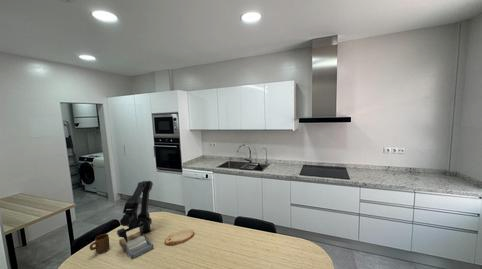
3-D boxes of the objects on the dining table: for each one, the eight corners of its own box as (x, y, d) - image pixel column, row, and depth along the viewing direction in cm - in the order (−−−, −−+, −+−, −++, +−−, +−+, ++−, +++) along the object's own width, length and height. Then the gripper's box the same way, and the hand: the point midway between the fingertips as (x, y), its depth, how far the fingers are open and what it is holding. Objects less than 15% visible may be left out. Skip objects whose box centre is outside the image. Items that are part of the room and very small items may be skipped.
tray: (146, 241, 139) (146, 237, 139) (153, 248, 131) (153, 244, 131) (125, 251, 129) (125, 247, 129) (131, 259, 121) (131, 255, 121)
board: (140, 235, 147) (140, 231, 147) (146, 241, 139) (146, 237, 139) (119, 243, 137) (119, 239, 137) (125, 251, 129) (124, 247, 129)
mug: (95, 259, 122) (94, 245, 121) (86, 257, 124) (85, 243, 123) (112, 247, 133) (111, 234, 133) (103, 245, 135) (102, 232, 135)
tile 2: (144, 242, 137) (144, 239, 137) (146, 244, 135) (146, 241, 135) (127, 250, 129) (127, 247, 129) (129, 252, 127) (129, 249, 127)
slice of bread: (196, 232, 150) (196, 227, 149) (186, 247, 132) (186, 242, 132) (174, 231, 152) (174, 226, 152) (162, 245, 134) (161, 240, 134)
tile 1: (143, 238, 138) (142, 235, 138) (145, 240, 136) (145, 237, 136) (126, 245, 130) (125, 242, 130) (128, 248, 128) (127, 245, 128)
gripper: (142, 209, 146) (143, 229, 147) (113, 219, 132) (115, 241, 133) (148, 214, 138) (149, 235, 140) (118, 225, 125) (120, 248, 126)
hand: (134, 239), depth 135 cm, fingers open, 9 cm apart
